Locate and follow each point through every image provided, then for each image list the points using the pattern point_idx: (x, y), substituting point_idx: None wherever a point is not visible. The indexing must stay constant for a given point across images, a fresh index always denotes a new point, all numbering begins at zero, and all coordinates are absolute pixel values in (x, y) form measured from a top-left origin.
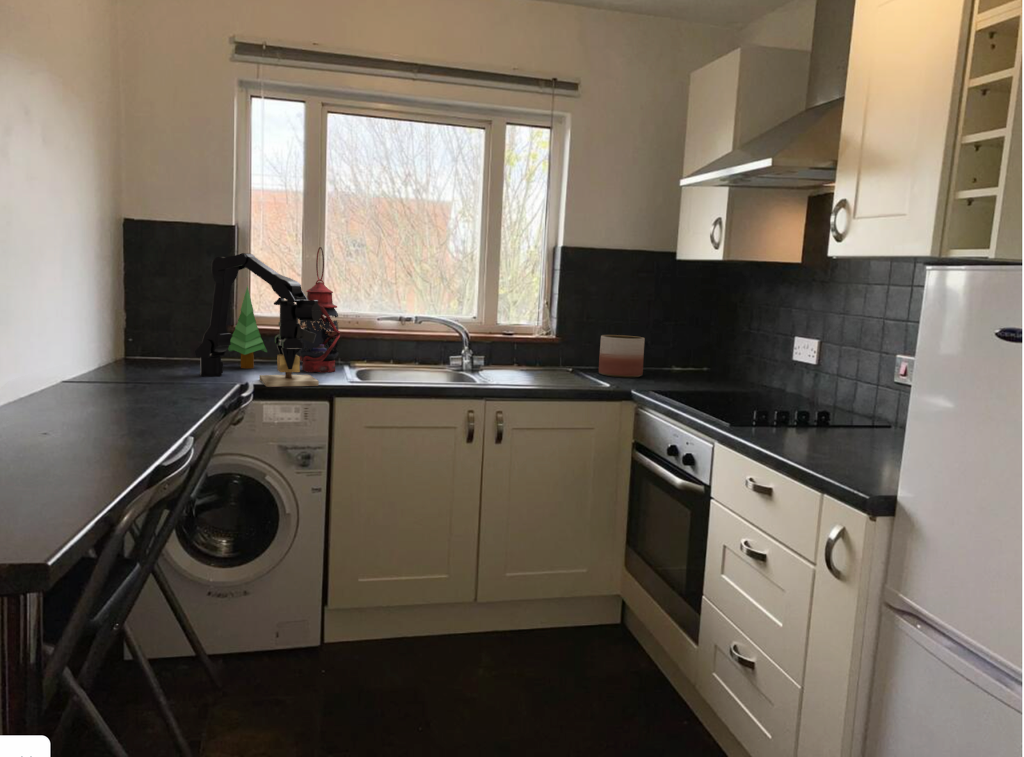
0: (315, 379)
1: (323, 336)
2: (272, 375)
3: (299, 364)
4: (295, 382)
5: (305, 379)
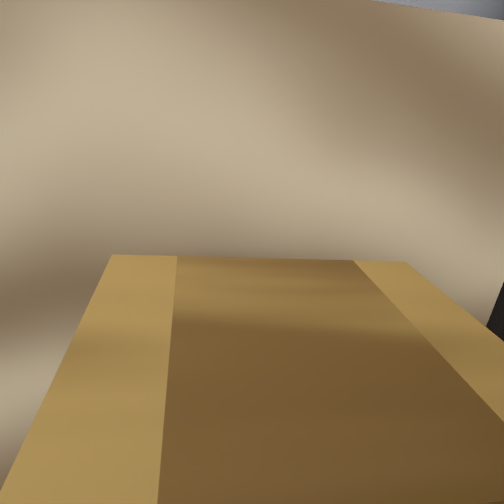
0: (459, 26)
1: None
2: (3, 434)
3: (488, 332)
4: (489, 291)
5: (408, 163)
